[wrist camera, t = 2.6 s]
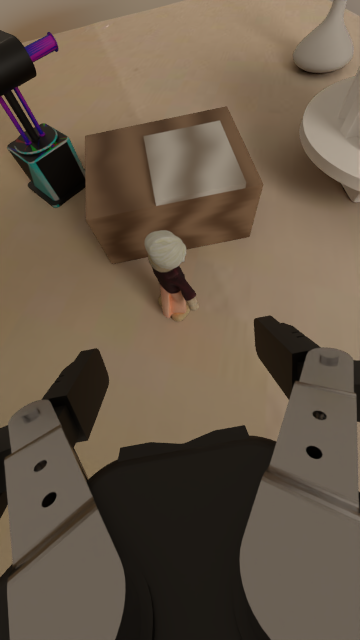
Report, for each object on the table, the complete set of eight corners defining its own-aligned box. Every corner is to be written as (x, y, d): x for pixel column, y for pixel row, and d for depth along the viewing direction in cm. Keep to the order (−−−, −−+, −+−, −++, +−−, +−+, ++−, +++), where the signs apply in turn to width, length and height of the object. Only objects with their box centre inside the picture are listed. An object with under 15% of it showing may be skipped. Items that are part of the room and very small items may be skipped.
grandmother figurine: (145, 302, 30) (108, 230, 18) (165, 282, 31) (142, 201, 19) (190, 338, 27) (181, 281, 16) (210, 315, 28) (215, 246, 17)
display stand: (112, 264, 33) (83, 215, 25) (107, 188, 39) (83, 130, 31) (249, 236, 32) (264, 179, 24) (222, 165, 39) (227, 100, 31)
